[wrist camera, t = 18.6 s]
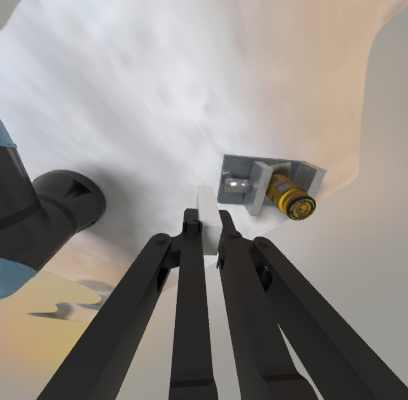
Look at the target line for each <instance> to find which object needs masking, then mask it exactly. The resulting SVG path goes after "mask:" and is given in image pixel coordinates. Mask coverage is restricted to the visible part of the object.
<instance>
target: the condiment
mask: <svg viewBox="0 0 408 400" xmlns="http://www.w3.org/2000/svg"><path fill="white" fill-rule="evenodd" d="M269 167H271V168H272V169H273V172H272V175H271V178H270V181H269V184H268V188H267V191H266V194H265V197H264V198H268V197H269V199H270V200H271V201H272V202H273V203H274V204H275V205H276V206H277V207H278V209H279V210H280V211H281V212H283V213H285V214H286V215H288V217H289V218H291V219H293V220H303V219H305V218H307V217H309V216H310V215H311V214H312V213H313V211H314V210H315V207H316V203H315V200H314V199H313V198H312V197H310V196H309V195H308V193H307V192H306V190H304V189H303V188H301V187H300V186H298V185H297V184H295V183H294V182H292V181H291V180H290V167H291V162H287V163H282V164H277V165H272V166H269Z"/></svg>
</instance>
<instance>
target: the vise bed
mask: <svg viewBox="0 0 408 400" xmlns="http://www.w3.org/2000/svg"><path fill="white" fill-rule="evenodd" d="M253 161H262V162H264V163H265V164H266V165H268V166H272V165H277V164H282V163H287V162H291V167H290V180H291V181H292V182H294V183H295V184H297V185H298V186H300V187H301V188H303V189H304V190H306V192H307V193H308V195H309V196H310V197H312V198H314V196H315V194H316V192H317V190H318V188H319V186H320V184H321V182H322V179H323V177H324V175H325V173H326V171H327V170H324V169H322V168H319V167H317V166H315V165H312V164H310V163H308V162H305V161H295V160H283V159H272V158H260V157H249V156H237V155H226V154H224V159H223V165H222V172H221V178H220V185H219V191H218V197H217V201H218V202H222V203H240V204H244V203H243V200H244V196H245V193H239V192H224V180H225V178H239V179H249V176H250V172H251V168H252V163H253ZM262 205H275V204H274V203H273V202H272V201H271V200H270V199H269V197H268V198H264V201H263V204H262Z"/></svg>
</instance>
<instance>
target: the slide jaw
mask: <svg viewBox="0 0 408 400" xmlns="http://www.w3.org/2000/svg"><path fill="white" fill-rule="evenodd" d="M272 172H273V169H272V168H271V167H269V166H268V165H266V164H265V163H264V162H262V161H253V163H252V168H251V172H250V176H249V179H239V178H225V180H224V192H239V193H245V196H244V200H243V203H244V205H245V207H246V209H247V210H248V212H249V214H250V215H252V216H259V213H260V210H261V207H262V204H263V201H264V197H265V194H266V191H267V188H268V184H269V181H270V178H271V175H272Z"/></svg>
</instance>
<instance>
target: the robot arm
mask: <svg viewBox="0 0 408 400" xmlns="http://www.w3.org/2000/svg"><path fill="white" fill-rule="evenodd" d="M16 148H17V146H16V144H14V143H13V141H12V139H11V137H10V136H9V134H8V132H7V130H6V128H5V126H4V124H3V123H2V121H1V120H0V299H3V298H6V297H8V296H10V295H12V294H13V293H15V292H16V291H18V290H19V289H20V288H21V287H22V286H23V285H24V284H25V283H26V282H27V281H28V280H30V278H33V277H34V276H35V275H36V274H37V273H38V272H39V271H40V270H41V269H42V268H43V266H44V265H45V264H46V263H47V262H48V261H49V260H50V259H51V258H52V257H53V256H54V255H55V254H56V253H57V252H58V251H59V250H60V249H61V248H62V247H63V245H64V244H65V243H66V242H67V241H68V240H69V239H70V238H71V237H72V236H73V235H74V234H76V233H78V232H80V231H82V230H84V229H86V228H88V227H90V226H92V225H94V224H95V223H96V222H97V221H98V220H99V219H100V218H101V217H102V216H103V214H104V212H105V209H106V202H105V198H104V196H103V194H102V192H101V190H100V189H99V188H98V187H97V186H96V185H95V184H94V183H93V182H92V181H91V180H89V179H88V178H86V177H85V176H83V175H81V174H79V173H76V172H73V171H68V170H54V171H50V172H48V173H45V174H43V175H41V176H39V177H37V178H36V179H35V180H34V181H33V182H32V183H31V181H30V179H29V176H28V174H27V172H26V170H25V168H24V165H23V163H22V161H21V159H20V156H19V154H18V152H17V149H16ZM217 253H219V257H218V262H217V268H218V266H219V270H220V276H221V282H222V287H223V293H224V299H225V305H226V311H227V316H228V322H229V329H230V334H231V340H232V346H233V351H234V358H235V364H236V370H237V376H238V381H239V386H240V393H241V400H318V397H317V395H316V393H315V391H314V389H313V388H312V386H311V385H310V383H309V382H308V380H307V379H305V378H304V377H303V376H302V375H300V374H299V373H298V371H297V370H296V368H295V366H294V363H293V361H292V358H291V356H290V353H289V351H288V349H287V346H286V344H285V341H284V339H283V336H282V334H281V331H280V329H279V327H278V324H279V326H280V328H281V329H282V331H283V333H284V334H285V336H286V338H287V339H288V341H289V343H290V344H291V346H292V347H293V349H294V351H295V352H296V354H297V356H298V357H299V359H300V360H301V362H302V364H303V366H304V367H305V369H306V371H307V372H308V374H309V375H310V377H311V379H312V380H313V382H314V384H315V385H316V387H317V389H318V390H319V392H320V394H321V395H322V397H323V398H324V400H408V387H407V386H406V385H405V384H404V383H403V382H402V381H401V380H400V379H399V378H398V377H397V376H396V375H395V374H394V373H393V372H392V370H391V369H390V368H389V367H388V366H387V365H386V364H385V363H384V362H383V361H382V360H381V359H380V357H379V356H377V354H376V353H375V352H374V351H373V350H372V349H371V348H370V347H369V346H368V345H367V344H366V342H365V341H363V339H362V338H361V337H360V336H359V335H358V334H357V333H356V332H355V331H354V330H353V329H352V328H351V326H350V325H349V324H348V323H347V322H346V321H345V320H344V319H343V318H342V317H341V316H340V315H339V314H338V312H337V311H336V310H335V309H334V308H333V307H332V306H331V305H330V304H329V303H328V302H327V301H326V300H325V299H324V297H322V295H321V294H319V292H318V291H317V290H316V289H315V288H314V287H313V286H312V285H311V284H310V283H309V281H308V280H307V279H306V278H305V277H304V276H303V275H302V274H301V273H300V272H299V271H298V270H297V269H296V268H295V267H294V265H293V264H292V263H291V262H290V261H289V260H288V259H287V258H286V257H285V256H284V255H283V254H282V253H281V251H280V250H279V249H278V248H277V247H276V246H275V245H274V244H273V243H272V242H271V241H270V240H269V239H267V238H264V237H255V239H254V240H253V241H252V240H248V239H245V238H243V237H242V235H241V234H240V233H239V232H238V231H236V229H235V226H234V223H233V221H232V218H231V215H230V213H229V212H228V211H227V210H218V207H217V203H216V200H215V196H214V192H213V189H212V187H204V186H198V188H197V199H196V209H188V208H187V209H186V210H185V211H184V221H183V229H182V233H181V234H179V235H178V236H175V237H170V236H169V235H168V234H165V233H159V234H156V235H154V236H152V237H151V238H150V240H149V241H148V243H147V244H146V245H145V247H144V248H143V250H142V251H141V253H140V254H139V255H138V257H137V258H136V260H135V261H134V262H133V264H132V265H131V267H130V268H129V269H128V271H127V272H126V274H125V275H124V277H123V278H122V279H121V281H120V282H119V284H118V285H117V286H116V288H115V289H114V291H113V292H112V293H111V295H110V296H109V298H108V299H107V301H106V302H105V303H104V305H103V306H102V308H101V309H100V310H99V312H98V313H97V315H96V316H95V317H94V319H93V320H92V322H91V323H90V325H89V326H88V327H87V329H86V330H85V332H84V333H83V334H82V336H81V337H80V339H79V340H78V341H77V343H76V344H75V346H74V347H73V348H72V350H71V351H70V353H69V354H68V356H67V357H66V358H65V360H64V361H63V363H62V364H61V365H60V367H59V368H58V370H57V371H56V373H55V374H54V375H53V377H52V378H51V380H50V381H49V383H48V384H47V385H46V387H45V388H44V390H43V391H42V392H41V394H40V395H39V396H38V398H37V399H36V400H115V399H116V397H117V395H118V392H119V390H120V388H121V385H122V383H123V381H124V378H125V376H126V373H127V371H128V369H129V366H130V364H131V361H132V359H133V357H134V355H135V352H136V350H137V348H138V345H139V343H140V341H141V338H142V336H143V334H144V331H145V329H146V327H147V324H148V322H149V320H150V317H151V315H152V312H153V310H154V308H155V305H156V303H157V301H158V298H159V296H160V294H161V291H162V289H163V287H164V284H165V282H166V280H167V277H168V275H169V273H170V270H171V269H172V268H175V267H179V266H180V267H179V280H178V293H177V305H176V317H175V330H174V342H173V354H172V367H171V378H170V388H169V400H218V393H217V387H216V384H215V380H214V376H213V368H212V357H211V343H210V332H209V319H208V306H207V295H206V283H205V271H204V257H203V255H217ZM266 267H267V268H266ZM277 323H278V324H277Z"/></svg>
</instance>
